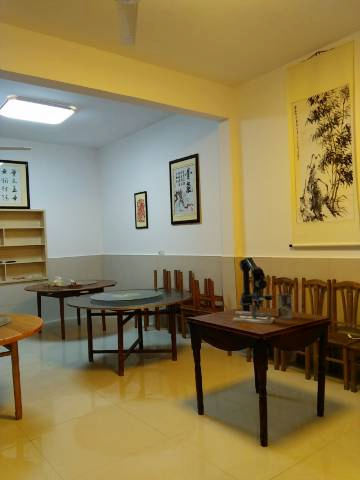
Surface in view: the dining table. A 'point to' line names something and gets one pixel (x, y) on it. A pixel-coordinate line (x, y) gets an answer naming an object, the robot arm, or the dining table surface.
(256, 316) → the dark angular block
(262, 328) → the dining table surface
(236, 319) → the pipe stand
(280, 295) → the coffee box
